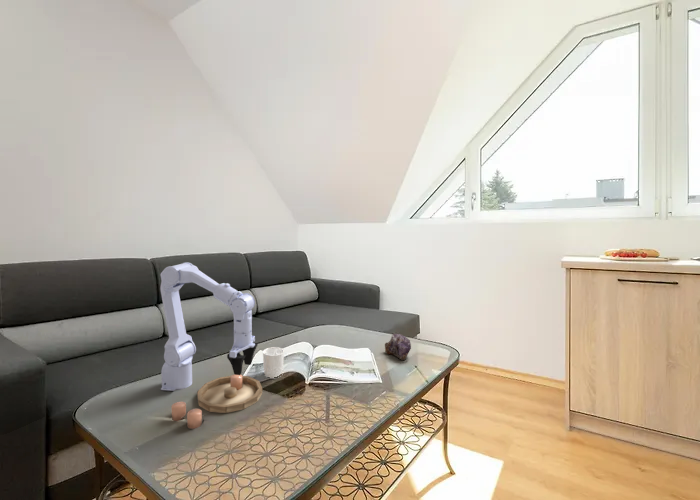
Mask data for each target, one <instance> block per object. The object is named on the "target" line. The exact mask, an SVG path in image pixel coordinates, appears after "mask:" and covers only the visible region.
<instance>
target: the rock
mask: <svg viewBox="0 0 700 500" xmlns="http://www.w3.org/2000/svg"><path fill="white" fill-rule="evenodd" d="M384 349H385V350H384V352H385V353H386V354H387V355H392V356H394V357H396V358H398V359H399V360H402V361H404V360H406V358H407V357H408V355H409V353H410V351H411V349H412V343H411V340H410V339H409V338H408V337H406V336H404V335H403V334H399V333H392V334H391V338H390V339H389V340H388V342H385V343H384Z"/></svg>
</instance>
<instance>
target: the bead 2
mask: <svg viewBox="0 0 700 500" xmlns="http://www.w3.org/2000/svg"><path fill="white" fill-rule="evenodd" d="M202 414H203V410H202V409H200V408H193V409H190V410H188V411H186V419H187V420H186V422H187V423H186V424H187V428H188V429H190V430H195V429H199V427H201V426H202V424H203V423H202V422H203V415H202Z"/></svg>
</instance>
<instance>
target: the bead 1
mask: <svg viewBox="0 0 700 500" xmlns="http://www.w3.org/2000/svg"><path fill="white" fill-rule="evenodd" d="M170 407H171V420H172V421H173V422H180V421H183V420H185V419H186V418H184V417H186V416H187V403H186V402H185V401H178V402H175V403H172V404H171V406H170Z"/></svg>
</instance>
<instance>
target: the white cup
mask: <svg viewBox="0 0 700 500" xmlns="http://www.w3.org/2000/svg"><path fill="white" fill-rule="evenodd" d="M262 360H263V361H262V364H263V372H264V374H265V375H264V374H263V375H264V377H265V376H267V377H270V378H269V379H275V378H274V377H277V376H279V375H280V374H281V372H282V370H283V371H284V362H285V361H284V360H285V350H284V348H282V347H278V346H273V347H267V348H264V349H263V351H262ZM267 377H266V378H267Z"/></svg>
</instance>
